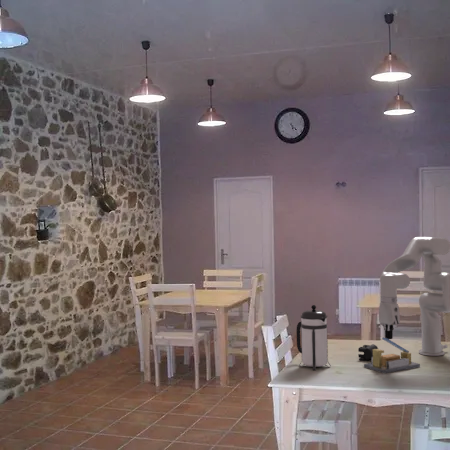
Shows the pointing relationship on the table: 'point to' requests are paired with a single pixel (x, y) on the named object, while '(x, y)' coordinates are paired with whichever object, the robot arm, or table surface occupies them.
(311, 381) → the table surface
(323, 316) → the coffee press
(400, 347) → the strap
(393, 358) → the block
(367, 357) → the end cap
